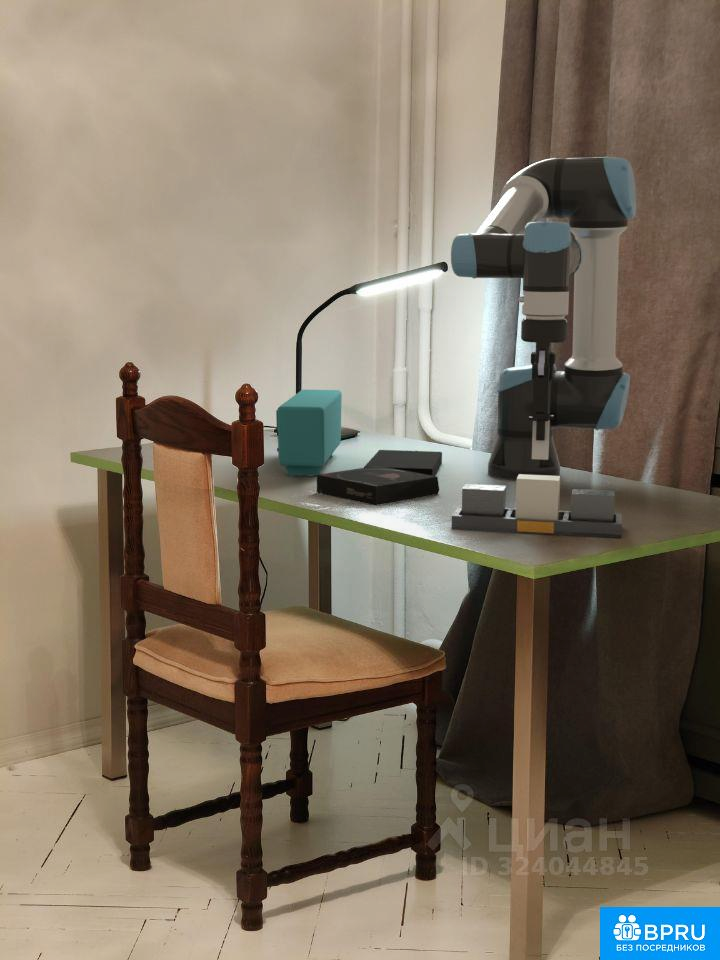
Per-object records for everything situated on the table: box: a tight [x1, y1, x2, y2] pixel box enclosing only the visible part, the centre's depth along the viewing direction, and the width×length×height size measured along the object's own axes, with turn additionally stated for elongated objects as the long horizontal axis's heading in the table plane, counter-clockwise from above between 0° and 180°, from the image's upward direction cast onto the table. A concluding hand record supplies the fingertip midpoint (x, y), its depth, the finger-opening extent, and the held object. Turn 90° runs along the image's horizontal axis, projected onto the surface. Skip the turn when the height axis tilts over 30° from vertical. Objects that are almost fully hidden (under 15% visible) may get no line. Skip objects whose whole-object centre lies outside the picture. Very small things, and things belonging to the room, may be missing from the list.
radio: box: [275, 389, 343, 476], centre depth 267 cm, size 34×10×15 cm, turn 175°
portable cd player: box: [316, 466, 440, 506], centre depth 237 cm, size 16×17×4 cm
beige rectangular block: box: [515, 474, 561, 520], centre depth 207 cm, size 4×7×8 cm, turn 78°
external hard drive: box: [363, 449, 443, 476], centre depth 262 cm, size 14×23×3 cm, turn 171°
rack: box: [451, 483, 623, 539], centre depth 207 cm, size 9×28×7 cm, turn 78°
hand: (540, 458), depth 206 cm, fingers closed
